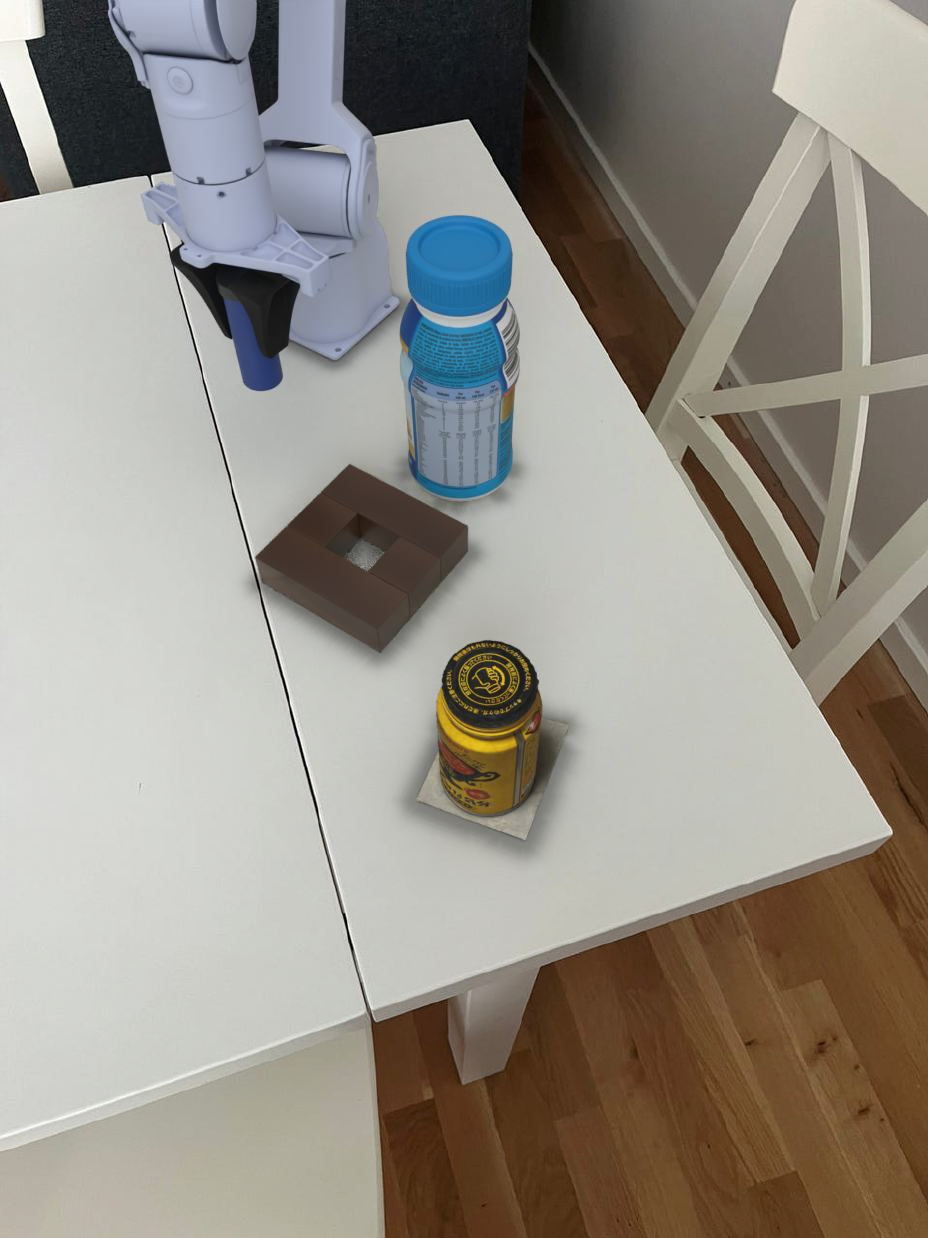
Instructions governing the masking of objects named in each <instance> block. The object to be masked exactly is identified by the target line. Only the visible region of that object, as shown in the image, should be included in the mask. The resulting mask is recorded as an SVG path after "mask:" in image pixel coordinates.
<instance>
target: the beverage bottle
mask: <svg viewBox="0 0 928 1238" xmlns="http://www.w3.org/2000/svg"><path fill="white" fill-rule="evenodd" d="M513 253H514V252H513V247H512V243H511V240H510V237H509V236H508V234H507V233H506V231H504V230H503V228H501V227H500V226H499V225H497V224H496V223H494V222H492V221H490V220H488V219H485V218H483V217H478V216H474V215H465V214H464V215H463V214H456V215H455V214H454V215H446V216H440V217H437V218H433V219H431V220H429V221H427V222H425V223H423V224H422V225H420V226H419V227H418V228H416V229H415V230H414V231H413V232H412V233H411V235H410V237H409V238H408V240H407V243H406V251H405V267H406V268H405V269H406V279H407V280H406V281H407V282H406V283H407V288H408V291H409V294H410V297H411V298H410V300H409V301H408V303H407V305H406V307H405V309H404V312H403V314H402V317H401V321H400V324H399V341H400V344H401V351H400V355H399V371H400V378H401V380H402V383H403V390H404V391H403V392H404V404H405V415H406V428H407V429H406V431H407V441H408V443H407V444H408V450H407V451H408V453H407V456H408V466H409V468H408V469H409V471H410V474H411V476H412V478H413V480H414V481H415V482H416V484H417V485H418V486H419V487H420V488H421V489H422V490H423V491H425V492H426V493H427V494H430V495H431V496H433V497H435V498H437V499H440V500H445V501H450V502H471V501H476V500H479V499H483V498H485V497H487V496H490V495H492V494H493V493H495V492H496V491H497V490H499V489H500V488H501V487H502V486H503V485H504V484H505V483H506V482H507V479H508V478H509V476H510V474H511V471H512V467H513V457H514V452H513V451H514V449H513V427H514V414H515V413H514V411H515V397H516V386H517V385H516V384H517V382H518V380H519V377H520V370H521V359H520V352H519V348H518V346H519V343H520V339H521V338H520V337H521V330H520V324H519V319H518V316H517V314H516V311H515V309H514V306H513V304H512V302H511V301H510V299H509V298H508V296H509V293H510V291H511V286H512V276H513V257H514V254H513Z"/></svg>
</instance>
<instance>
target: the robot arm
mask: <svg viewBox="0 0 928 1238" xmlns="http://www.w3.org/2000/svg"><path fill="white" fill-rule="evenodd" d="M346 1H347V0H278V74H277V75H278V76H277V77H278V79H277V80H278V82H277V83H278V84H277V85H278V86H277V87H278V88H277V90H278V91H277V95H278V96H277V97H278V98H277V100H276V101H275V102H274V103H273V104H272V105H271V106H270V107H269V108H267V109H266V110H264V111H263V112H261V114H260V115H259V111H258V104H257V99H256V93H255V86H254V81H253V75H252V69H251V64H250V59H249V52H250V49H251V47H252V44H253V42H254V40H255V34H256V27H257V8H258V7H257V5H258V4H257V0H107V2H108V11H107V16H108V18H109V22H110V25H111V27H112V30H113V32H114V35H115V36H116V38H117V40H118V42H119V43H120V45H121V46H122V47H123V48H124V49H125V51H126V52H127V53H128V54H129V56H130V59H131V61H132V64H133V67H134V71H135V74H136V78H137V81H138V82H140V84H141V86H142V87H145V88H146V89H148V90H150V92H151V97H152V100H153V105H154V109H155V112H156V116H157V119H158V124H159V128H160V131H161V137H162V139H163V143H164V148H165V152H166V155H167V159H168V163H169V166H170V171H171V175H172V179H173V181H174V185H173V184H169V183H166V182H163V181H160V182H159V183H157V184H155V185H153V186H152V187H151V188H149V189H147V190H146V191H144V192H143V193H141V194H140V198H141V203H142V205H143V209H144V211H145V215H146V219H147V221H148V222H149V223H152V224H154V225H156V226H160V225H163V224H164V223H166V225H168V227H169V228H170V229H171V230H172V231H173V232H174V234H176V236H177V237H178V238H179V239H180V242H181V243H180V244H178V245H176V247H174V248H173V249H172V250H171V251H170V253H169V259H170V263H171V265H172V266H174V267H175V268H176V270H178V271H179V272H180V273H181V275H183V276H184V277H185V278H186V279H187V280H188V281H189V283H190V284H191V285H192V286H193V288H194V289H195V290H196V292H197V293H198V294H199V296H200V298H201V299H202V300H203V302H204V303H205V306H206V307H207V308H208V310H209V312H210V313H211V315H212V317H213V319H214V321H215V323H216V324H217V326H218V328H219V329H220V331H221V333H222V334H223V335H224V337H225V338H227V339H229V340H233V338H232V333H231V329H230V325H229V321H228V316H227V312H226V308H225V304H224V299H223V296H222V295H221V294H220V293H219V291H218V287H217V283H216V278H215V277H216V273H217V271H218V269H219V268H220V267H221V266H222V265H224V264H227V265H233V266H239V267H245V268H251V270H247V271H246V272H244V273H243V274H242V275H240V276H239V277H238V278H236V279H235V280H234V281H232V282H231V283H230V284H229V288H230V290H231V291H232V292H233V293H234V295H235V296H236V297H237V298H238V299H239V301H240V302H241V304H242V305H243V307H244V309H245V311H246V312H247V314H248V317H249V319H250V321H251V324H252V327H253V330H254V334H255V337H256V341H257V344H258V347H259V349H260V351H261V353H262V354H263V356H265V357H267V358H269V359H272V358H273V357H275V356H276V355H277V354H278V353H279V354H280V353H281V352H282V351H283V350H284V349H286V348H287V347H288V346H289V342H290V340H291V341H293V342H295V343H297V344H299V345H301V346H303V347H305V348H307V349H310V350H311V351H313V352H316V353H318V354H320V355H322V356H324V357H325V358H328V359H330V360H333V361H337V360H339V359H340V358H342V357H343V356H344V355H345V354H346V353H347V352H349V351H350V350H351V349H353V347H354V346H355V345H356V344H357V343H359V342H360V341H361V340H362V339H363V338H364V337H365V336H366V335H367V334H369V332H371V331H372V330H373V329H374V328H375V327H377V326H378V324H379V323H381V322H382V321H383V320H384V319H385V318H386V317H388V315H390V314H391V313H392V312H393V311H394V310H395V309H396V308H398V307H399V306H400V299H399V298H398V297H396V296H394V295H392V283H391V282H392V281H391V269H390V255H389V243H388V238H387V235H386V231H385V229H384V227H383V225H382V223H381V221H380V220H379V218H378V216H377V215H378V209H379V201H380V200H379V199H380V181H379V174H378V168H377V167H378V165H377V153H378V152H377V151H378V150H377V149H378V148H377V143H376V140H375V138H374V136H373V134H372V132H371V131H370V130H369V129H368V128H367V127H366V125H364V124H363V123H362V122H361V120H359V118H357V117H356V116H355V115H354V114H353V113H352V112H351V111H350V110H349V109H348V108H347V106H345V104H344V102H343V93H344V92H343V90H344V65H345V64H344V62H345V61H344V60H345V34H346V32H345V30H346V8H347V7H346V5H347V3H346ZM288 141H289V142H298V143H307V144H315V145H325V146H333V147H335V148H339V149H340V150H342V152H343V153H342V152H333V151H324V150H314V149H305V148H295V147H286V146H281V145H282V144H283V143H285V142H288Z"/></svg>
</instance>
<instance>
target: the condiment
mask: <svg viewBox="0 0 928 1238" xmlns="http://www.w3.org/2000/svg"><path fill="white" fill-rule="evenodd" d="M539 684H540V680H539V679H538V672H537V671H536V668H535V666H534V664H532V662H531V660H530V658H529V657H528V656H526V654H524V652H523V651H522V650H521V649H519V648H518V647H516V646H514V645H512V644H509V643H506V642H504V641H502V640H501V641H500V640H492V639H484V640H480V641H474V642H471V643H468V644H466V645H465V646H463V647H462V648H461V649H459V650H458V651H456V652H455V653H453V654H452V656H451V657H450V658H449V659H448V661H447V663H446V665H445V668H444V669H443V672H442V677H441V687H440V689H439V691H438V693H437V698H436V712H435V716H436V728H437V731H436V732H437V747H438V748H437V749H438V751H437V753H436V756H435V757H434V760H433V762H432V764H431V766H430V768H429V771H428V773H427V775H426V777H425V780H424V781H423V784H422V786H421V788H420V791H419V792H418V795H417V796H416V798H415V800H416V801H418V802H421V803H423V804H426V805H429V806H431V807H433V808H436V809H439V810H442V811H444V812H447V813H450V814H452V815H454V816H456V817H457V816H458V817H459V818H463V819H465V820H467V821H471V822H474V823H477V824H479V825H482V826H484V827H487V828H490V829H493V830H496V831H499V832H502V833H505V834H508V835H511V836H513V837H515V838H518V839H521V840H523V841H526V840H527V837H528V834H529V832H530V830H531V827H532V824H533V821H534V820H535V817H536V814H537V811H538V808H539V806H540V803H541V801H542V798H543V795H544V792H545V790H546V788H547V785H548V782H549V780H550V777H551V774H552V772H553V769H554V766H555V764H556V761H557V759H558V756H559V754H560V751H561V748H562V745H563V742H564V740H565V737H566V734H567V732H568V730H569V727H570V726H569V724H566V723H562V722H560V721H555V720H552V719H549V718H545V717H543V711H544V710H543V699H542V696H541V692H540V690H539Z"/></svg>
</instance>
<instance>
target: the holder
mask: <svg viewBox="0 0 928 1238" xmlns="http://www.w3.org/2000/svg"><path fill="white" fill-rule="evenodd" d="M361 540H363V541H365V542H367V543H369V544H370V545H372V546H374V547H376V548H377V549H379V550H381V551H383V552H384V553H383V554H381V556H380V557H379V558H378V559H377V560H376V562H375V563H374V564H373V565H372V566H371V567H370V568H369V569H368V570H366V569H365V568H362V567H361V566H359V565H357V564H355V562H354V563H353V562H352V561H350V560H348V559H346V558H345V556H346V555H347V554H348V553H349V552H350V551H351V550H352V549H353V548H354V546H356V545H357V543H359V541H361ZM468 551H469V525H467V524H466V523H463V522H461V521H460V520H458V519H456V518H454V517H453V516H450V515H449V514H446V513H444V512H443V511H440V510H439V509H437V508H434V507H433V506H432V505H429V504H427V503H426V502H423V501H422V500H419V499H418V498H415V497H414V496H412V495H410V494H408V493H406V492H404V491H402V490H401V489H399V488H397V487H396V486H393V485H392V484H389V483H387V482H385V481H383V480H382V479H379V478H377V477H376V476H374V475H372V474H370V473H368V472H366V471H364V470H363V469H360V468H359V467H357V466H355V465H353V464H351V463H348V465H346V466H345V467H344V468H343V470H341V472H340V473H339V474H337V475H336V476H335V477H334V478H333V480H331V481H330V482H329V483H328V484H327V485H326V486H325V487H324V488H323V489H322V490H321V491H320V492H319V493H318V494H317V495H316V496H314V498H313V499H312V500H311V501H310V502H309V503H308V504H307V505H306V506H305V507H304V508H303V509H302V510H301V511H300V512H299V513H297V515H296V516H295V517H294V518H293V519H292V520H291V521H290V522H288V524H287V525H286V526H285V527H284V528H283V529H281V530H280V532H279V533H277V535H276V536H275V537H273V539H272V540H271V541H269V542H268V543H267V544H266V545H265V547H263V549H261V551H259V552H258V553H257V554H256V555H255V556H254V559H255V563H256V566H257V570H258V573H259V577H260V580H261V583H263V585H266V586H268V587H269V588H271V589H272V590H274V591H276V592H278V593H279V594H281V595H283V596H284V597H286V598H287V599H289V600H291V601H292V602H294V603H296V604H297V605H300V606H301V607H302V608H305V609H306V610H307V611H309V612H311V613H313V614H315V615H316V616H318V617H320V618H321V619H323V620H324V621H327V622H328V623H330V624H331V625H333V626H335V627H336V628H337V629H340V630H341V631H343V632H345V633H347V634H348V635H350V636H351V637H353V638H355V639H356V640H358V641H360V642H361V643H363V644H365V645H367V646H368V647H370V648H372V649H374V650H375V651H377V653H382V652H383V650H384V649H385V648H386V647H387V646H388V645H389V643H390V642H391V641H392V640H393V639H394V638H395V636H396V635H397V634H398V633H399V632H400V631H401V630H402V629H403V628H404V626H405V625H406V624H407V622H408V621H409V620H410V619H411V618H412V617H413V616H414V615H415V614H416V612H417V611H418V610H419V609H420V608H421V607H422V605H423V604H424V603H425V602H426V601H427V599H429V597H430V596H431V595H432V593H433V592H434V591H435V590H436V589H437V588H438V587H439V585H441V584H442V582H443V581H445V579H446V578H447V577H448V575H450V573H451V572H452V571H453V570H454V568H455V567H456V566H457V565H458V564H459V563H460V561H461V560H462V559H463V558H464V557H465V555H467V553H468Z"/></svg>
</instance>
